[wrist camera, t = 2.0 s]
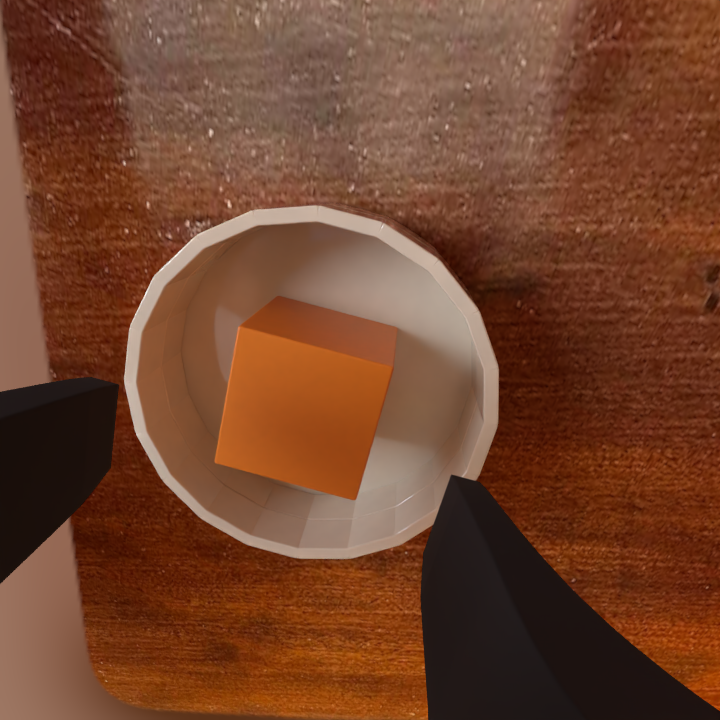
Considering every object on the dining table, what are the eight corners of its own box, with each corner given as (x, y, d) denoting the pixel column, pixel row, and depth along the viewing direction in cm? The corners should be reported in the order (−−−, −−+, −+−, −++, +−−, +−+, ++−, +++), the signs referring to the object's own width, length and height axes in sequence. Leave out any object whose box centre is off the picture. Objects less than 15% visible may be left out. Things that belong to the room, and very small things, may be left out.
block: (255, 405, 18) (213, 463, 14) (277, 294, 16) (237, 325, 13) (367, 435, 18) (355, 502, 14) (398, 327, 16) (394, 367, 13)
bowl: (161, 454, 19) (110, 508, 16) (201, 165, 16) (145, 159, 13) (430, 526, 19) (434, 596, 16) (527, 252, 16) (557, 268, 13)
